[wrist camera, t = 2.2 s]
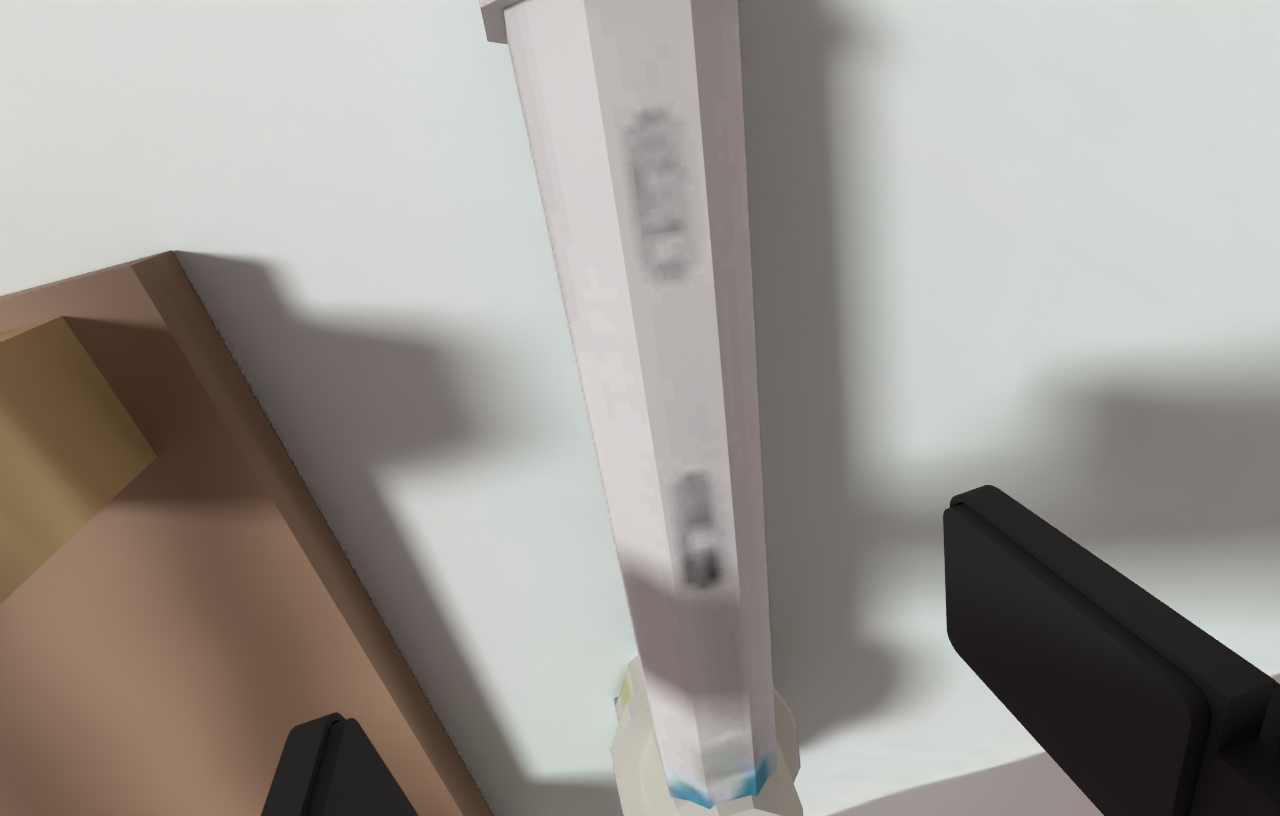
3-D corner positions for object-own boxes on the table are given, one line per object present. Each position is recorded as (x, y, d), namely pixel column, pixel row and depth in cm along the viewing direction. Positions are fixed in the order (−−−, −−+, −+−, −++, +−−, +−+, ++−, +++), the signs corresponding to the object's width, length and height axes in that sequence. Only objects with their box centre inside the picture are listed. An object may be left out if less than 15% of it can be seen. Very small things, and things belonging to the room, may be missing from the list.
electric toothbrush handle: (804, -416, 8) (875, 977, 15) (678, -125, 14) (773, 755, 21) (358, -399, 7) (663, 1044, 14) (439, -103, 13) (622, 795, 21)
